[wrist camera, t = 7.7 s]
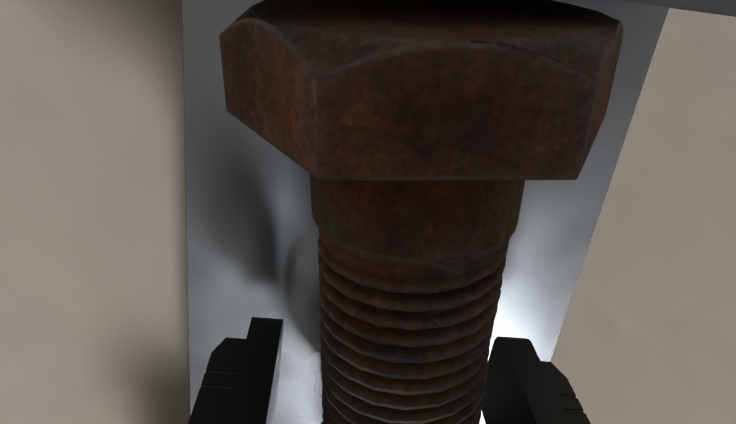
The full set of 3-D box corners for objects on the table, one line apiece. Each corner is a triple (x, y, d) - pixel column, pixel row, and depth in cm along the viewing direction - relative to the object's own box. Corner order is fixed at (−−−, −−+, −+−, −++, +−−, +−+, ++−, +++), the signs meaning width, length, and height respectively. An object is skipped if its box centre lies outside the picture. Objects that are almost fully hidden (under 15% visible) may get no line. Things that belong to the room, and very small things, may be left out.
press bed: (661, -124, 12) (1061, -219, 5) (455, 557, 22) (505, 821, 16) (204, -196, 11) (-6, -420, 4) (206, 547, 21) (142, 823, 15)
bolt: (356, 478, 18) (363, -18, 11) (509, 551, 16) (636, -1, 9) (242, 668, 13) (129, 15, 6) (438, 806, 11) (586, 68, 4)
